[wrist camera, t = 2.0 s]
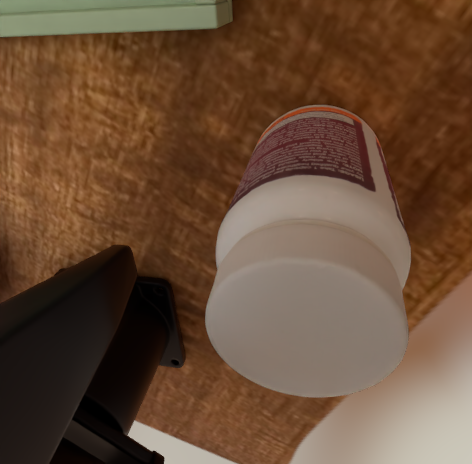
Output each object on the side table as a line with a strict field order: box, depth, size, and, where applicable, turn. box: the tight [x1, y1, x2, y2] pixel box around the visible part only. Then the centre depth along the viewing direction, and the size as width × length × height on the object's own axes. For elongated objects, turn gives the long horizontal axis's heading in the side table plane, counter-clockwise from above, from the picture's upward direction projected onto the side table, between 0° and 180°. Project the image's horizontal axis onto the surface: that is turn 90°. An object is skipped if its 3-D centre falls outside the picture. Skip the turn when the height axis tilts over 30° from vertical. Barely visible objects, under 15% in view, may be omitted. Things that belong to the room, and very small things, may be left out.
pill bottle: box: [205, 105, 411, 397], centre depth 11 cm, size 5×5×8 cm
